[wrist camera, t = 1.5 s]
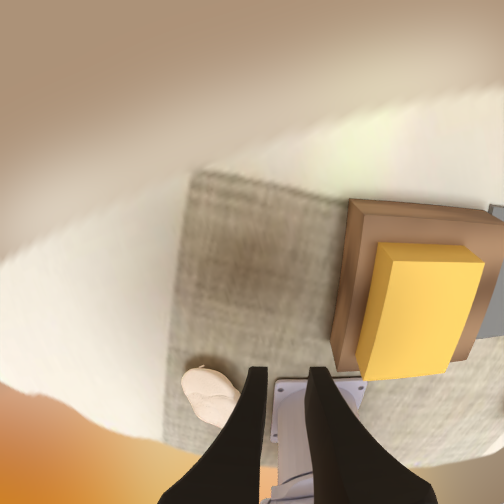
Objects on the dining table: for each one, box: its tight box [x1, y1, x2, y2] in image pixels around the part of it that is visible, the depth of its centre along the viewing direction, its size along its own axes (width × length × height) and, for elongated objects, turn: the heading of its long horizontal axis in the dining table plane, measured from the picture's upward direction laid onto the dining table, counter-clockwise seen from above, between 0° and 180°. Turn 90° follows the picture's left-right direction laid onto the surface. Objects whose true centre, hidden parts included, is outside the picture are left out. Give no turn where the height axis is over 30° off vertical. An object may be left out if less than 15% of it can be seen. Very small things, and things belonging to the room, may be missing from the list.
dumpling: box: [181, 365, 241, 429], centre depth 24 cm, size 7×5×4 cm
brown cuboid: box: [330, 199, 504, 372], centre depth 20 cm, size 11×11×4 cm
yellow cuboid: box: [355, 242, 485, 381], centre depth 17 cm, size 8×6×2 cm
